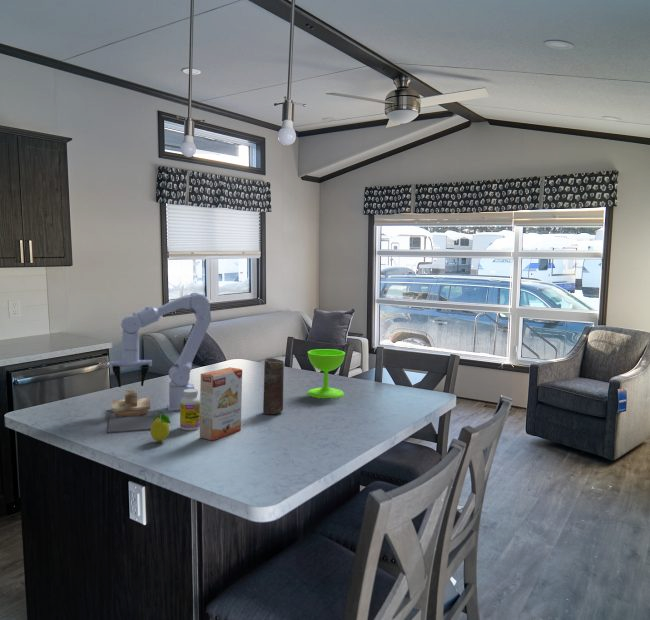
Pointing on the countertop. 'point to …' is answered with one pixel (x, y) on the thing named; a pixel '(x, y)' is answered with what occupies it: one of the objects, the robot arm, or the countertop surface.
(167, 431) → the lemon
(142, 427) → the charcoal mat
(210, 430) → the cracker box
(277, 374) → the candle
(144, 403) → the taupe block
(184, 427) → the supplement bottle
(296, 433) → the countertop surface
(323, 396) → the wineglass
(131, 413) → the terracotta dish
